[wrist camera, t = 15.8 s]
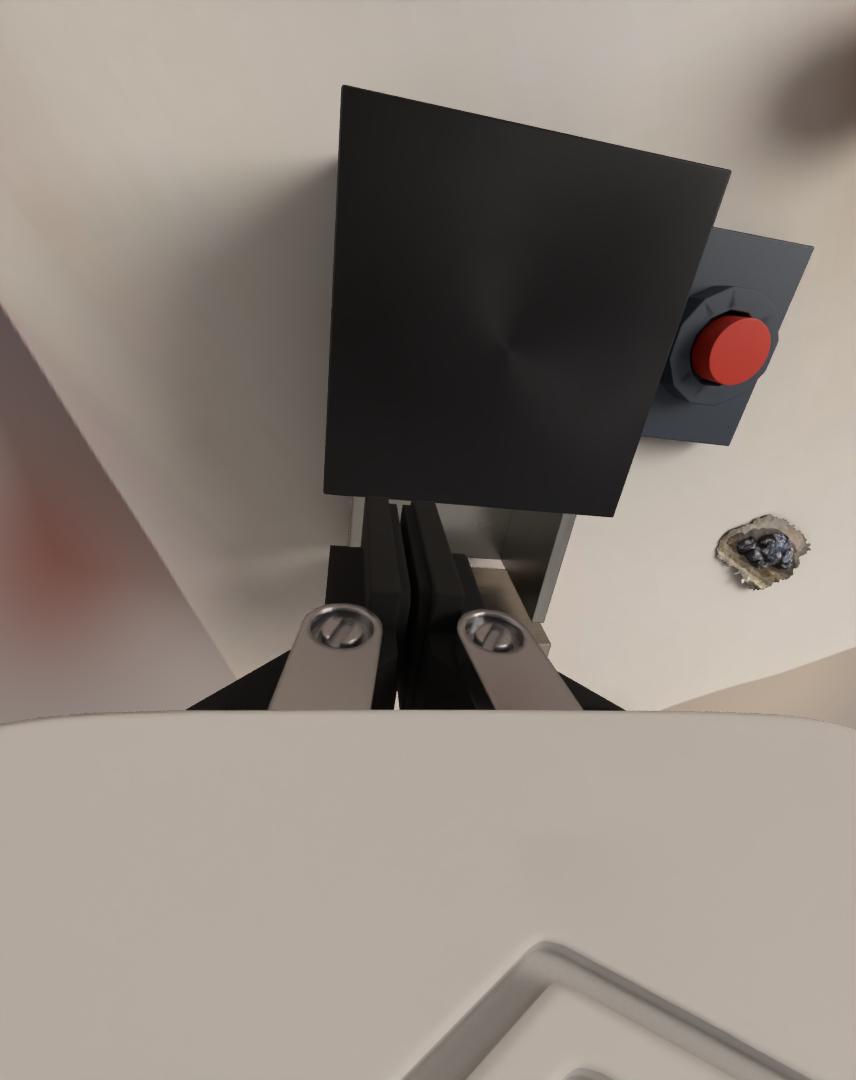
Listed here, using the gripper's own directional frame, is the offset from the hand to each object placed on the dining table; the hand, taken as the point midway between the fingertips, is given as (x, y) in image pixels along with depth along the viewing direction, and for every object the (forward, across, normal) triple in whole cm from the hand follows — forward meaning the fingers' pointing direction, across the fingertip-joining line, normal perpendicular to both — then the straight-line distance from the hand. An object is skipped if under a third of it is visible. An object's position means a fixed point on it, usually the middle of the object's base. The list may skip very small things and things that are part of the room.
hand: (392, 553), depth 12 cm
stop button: (+18, -20, -5) cm, 28 cm away
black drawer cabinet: (+22, -5, -4) cm, 23 cm away
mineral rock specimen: (+22, -33, +10) cm, 41 cm away
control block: (+22, -20, -5) cm, 30 cm away
